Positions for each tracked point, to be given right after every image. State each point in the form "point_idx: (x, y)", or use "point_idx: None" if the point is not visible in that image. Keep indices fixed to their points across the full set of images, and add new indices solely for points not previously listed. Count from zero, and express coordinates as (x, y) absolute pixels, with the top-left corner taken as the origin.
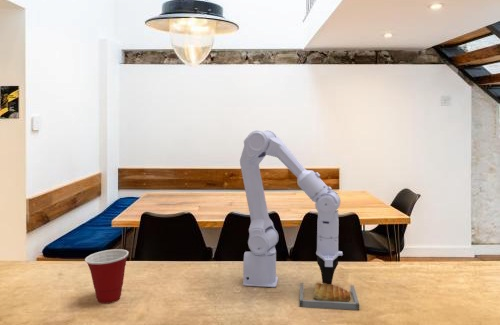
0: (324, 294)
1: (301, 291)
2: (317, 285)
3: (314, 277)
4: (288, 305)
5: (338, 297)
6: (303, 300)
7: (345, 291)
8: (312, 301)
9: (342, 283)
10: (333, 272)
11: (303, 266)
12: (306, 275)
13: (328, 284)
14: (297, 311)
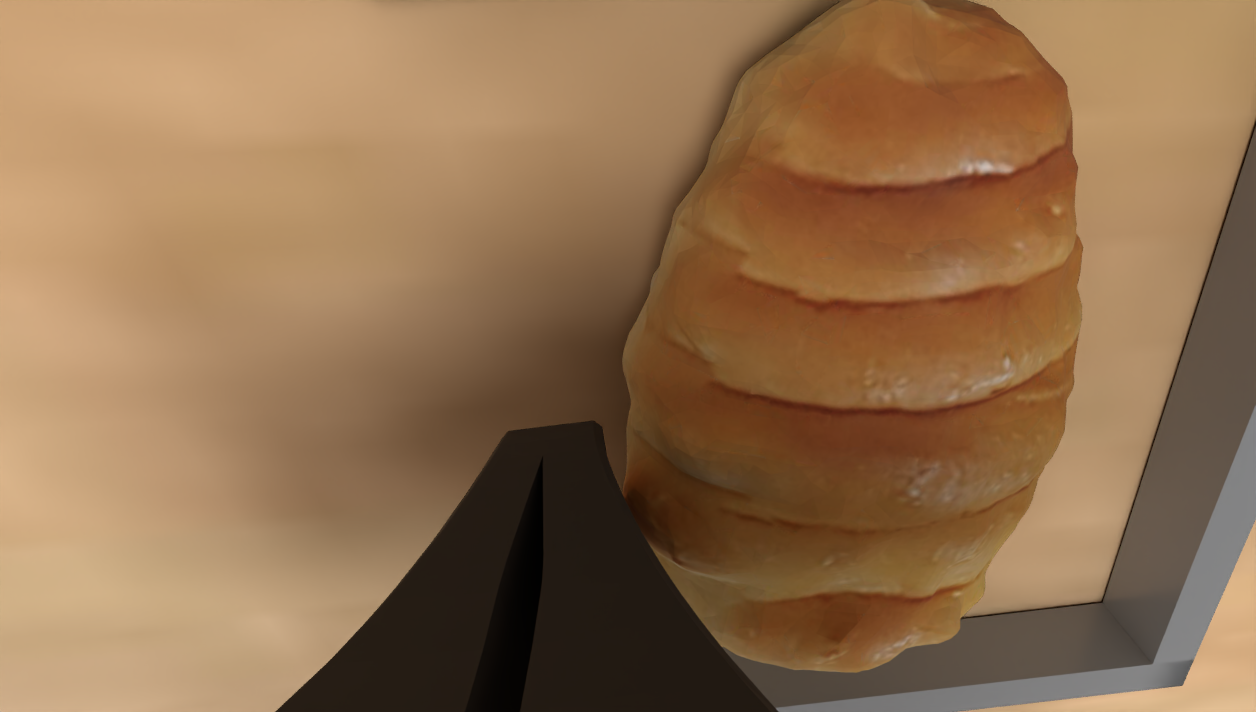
0: (1038, 473)
1: (868, 709)
2: (899, 645)
3: (39, 610)
4: (1081, 703)
5: (1075, 238)
6: (1174, 655)
7: (951, 119)
8: (1226, 571)
9: (17, 177)
10: (695, 618)
11: None
12: (32, 695)
13: (831, 503)
14: (1249, 620)
